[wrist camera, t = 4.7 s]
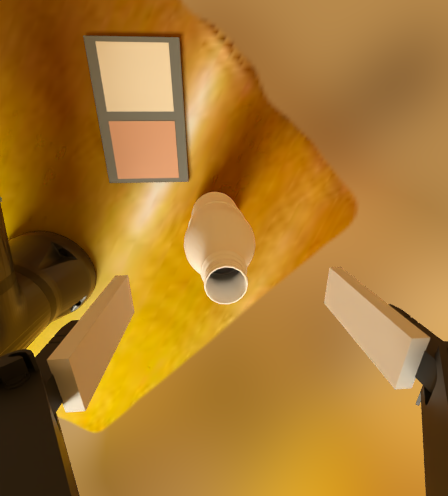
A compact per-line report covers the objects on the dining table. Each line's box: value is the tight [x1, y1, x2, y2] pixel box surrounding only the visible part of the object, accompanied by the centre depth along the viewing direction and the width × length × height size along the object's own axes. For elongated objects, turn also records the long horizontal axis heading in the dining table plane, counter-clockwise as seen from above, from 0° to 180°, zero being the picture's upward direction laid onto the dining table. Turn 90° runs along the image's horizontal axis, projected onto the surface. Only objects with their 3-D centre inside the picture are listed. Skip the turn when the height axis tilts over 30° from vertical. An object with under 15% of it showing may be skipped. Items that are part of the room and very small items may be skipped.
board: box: [83, 36, 189, 183], centre depth 33 cm, size 12×18×1 cm, turn 1°
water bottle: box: [184, 192, 255, 304], centre depth 27 cm, size 7×7×25 cm
